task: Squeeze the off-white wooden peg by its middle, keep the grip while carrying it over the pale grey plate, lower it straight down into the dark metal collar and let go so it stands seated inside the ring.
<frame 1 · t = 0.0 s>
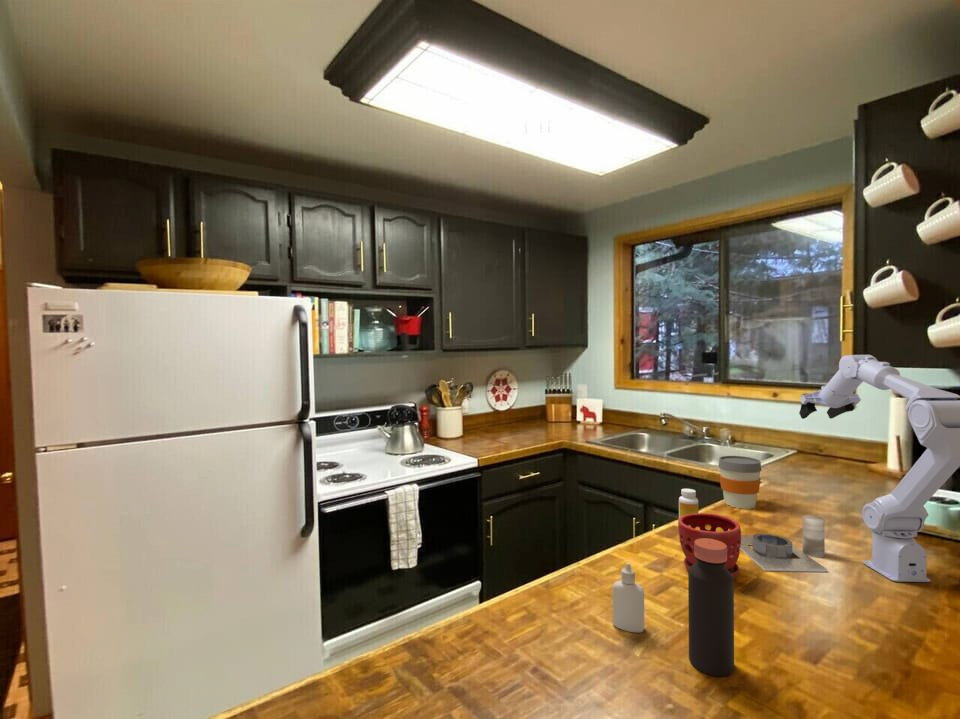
hand: (815, 415, 136), 32 cm above the worktop, tool tilted 50°, fingers open, 7 cm apart
peg: (813, 553, 119), on the worktop
reusable coffee cup: (739, 505, 157), on the worktop
supplement bottle: (688, 523, 142), on the worktop
dark water bottle: (711, 664, 78), on the worktop
plant pot: (709, 572, 110), on the worktop
eye dropper bottle: (628, 627, 89), on the worktop
collar stand: (772, 553, 120), on the worktop
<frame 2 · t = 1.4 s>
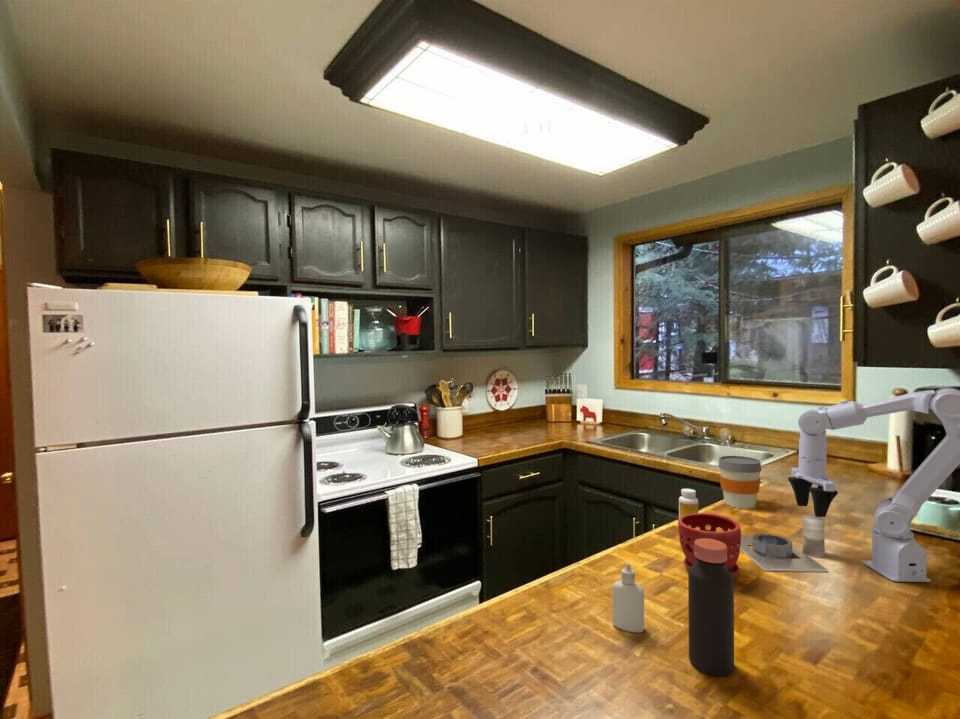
hand: (810, 511, 119), 11 cm above the worktop, tool pointing down, fingers open, 7 cm apart
nothing on the worktop moved.
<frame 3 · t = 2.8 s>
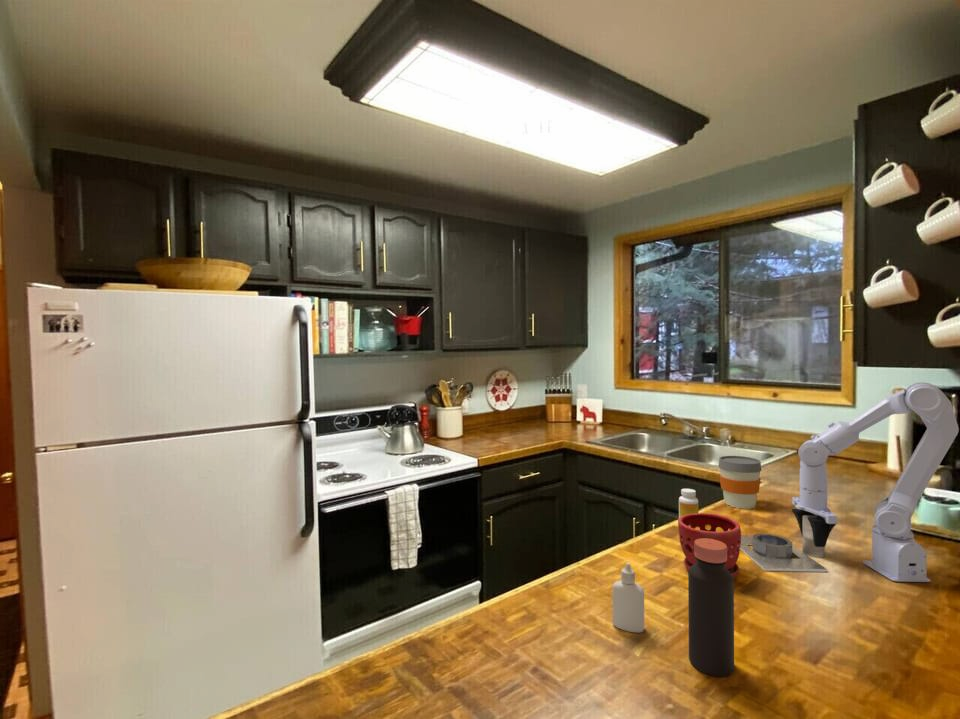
hand: (813, 542, 119), 3 cm above the worktop, tool pointing down, fingers closed on peg, 4 cm apart
peg: (813, 553, 119), on the worktop, touching gripper
everything else where it was.
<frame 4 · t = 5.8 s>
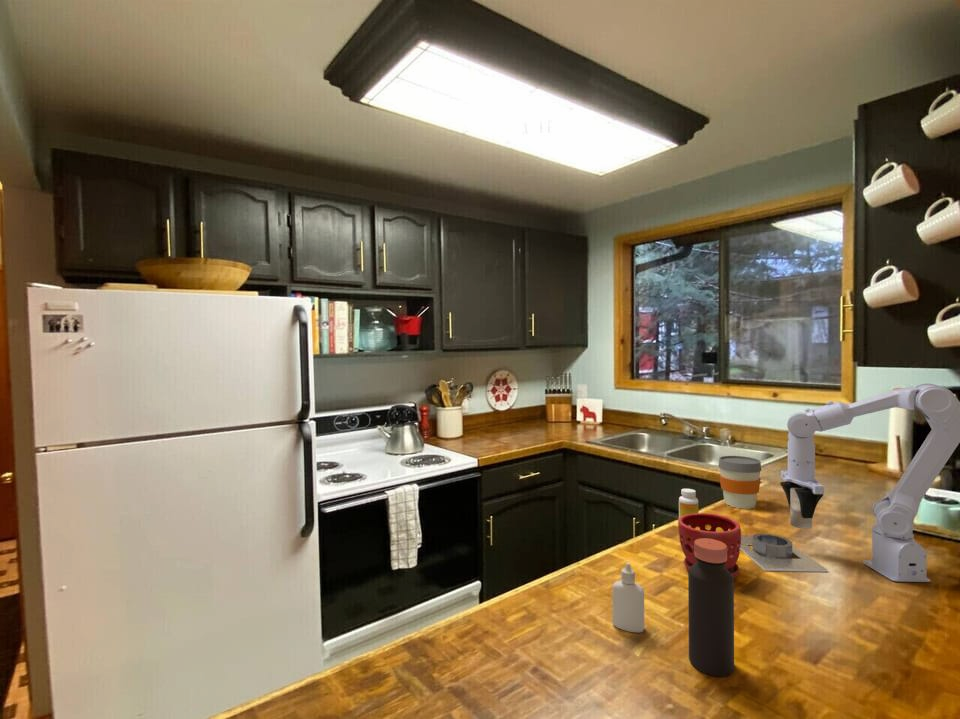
hand: (800, 514, 119), 10 cm above the worktop, tool pointing down, fingers closed on peg, 4 cm apart
peg: (801, 525, 119), point 7 cm above the worktop, touching gripper
everything else where it was.
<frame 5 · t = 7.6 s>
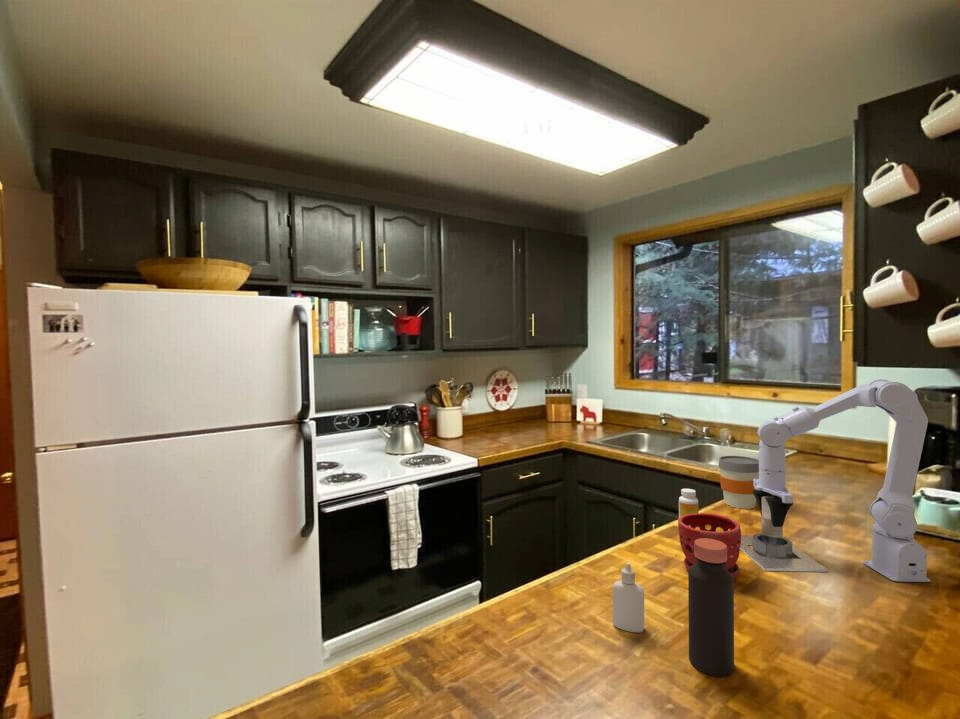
hand: (772, 522, 120), 8 cm above the worktop, tool pointing down, fingers closed on peg, 4 cm apart
peg: (772, 534, 120), point 5 cm above the worktop, touching gripper
everything else where it was.
when the fingers open (4 cm above the worktop, at t = 8.9 s): peg drops 1 cm, resting in collar stand.
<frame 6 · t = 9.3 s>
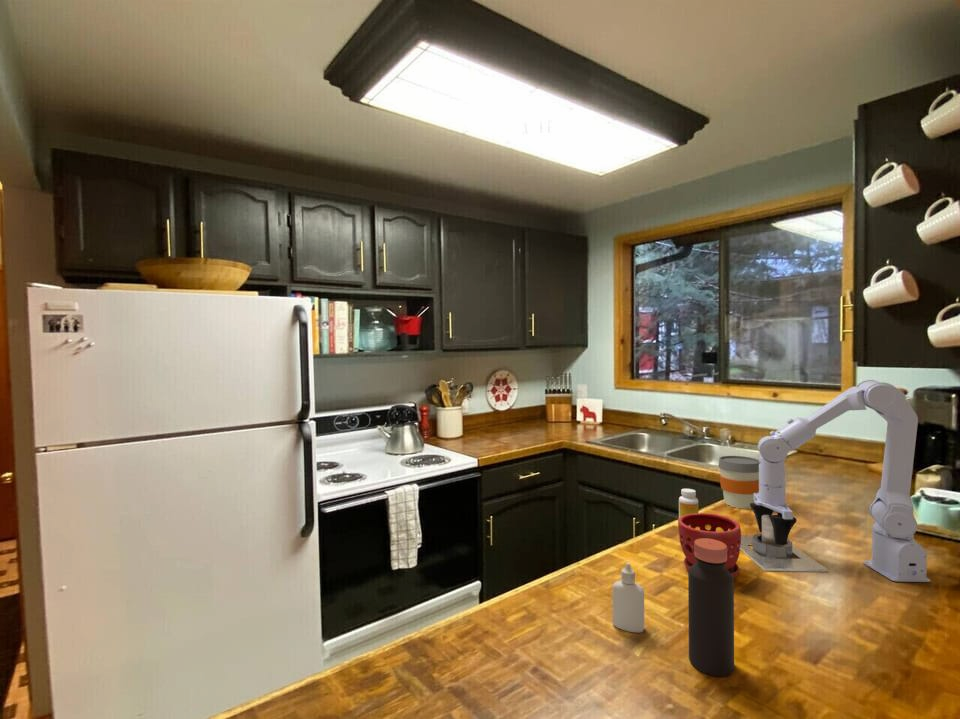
hand: (772, 537, 120), 4 cm above the worktop, tool pointing down, fingers open, 7 cm apart
peg: (772, 553, 120), resting in collar stand
everything else where it was.
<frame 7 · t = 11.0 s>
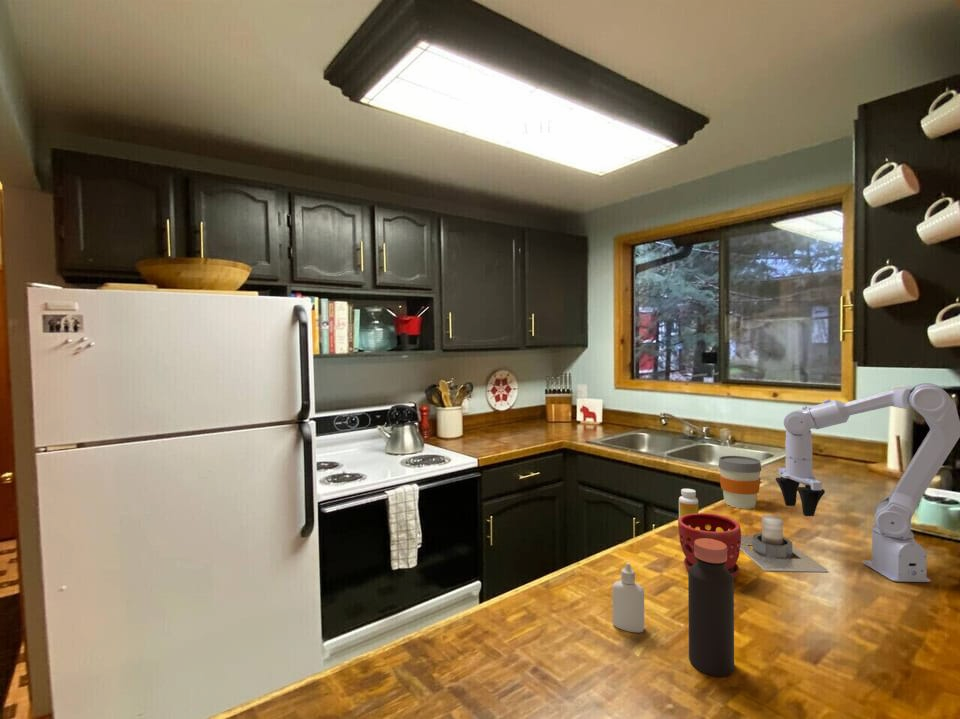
hand: (799, 510, 121), 10 cm above the worktop, tool pointing down, fingers open, 7 cm apart
nothing on the worktop moved.
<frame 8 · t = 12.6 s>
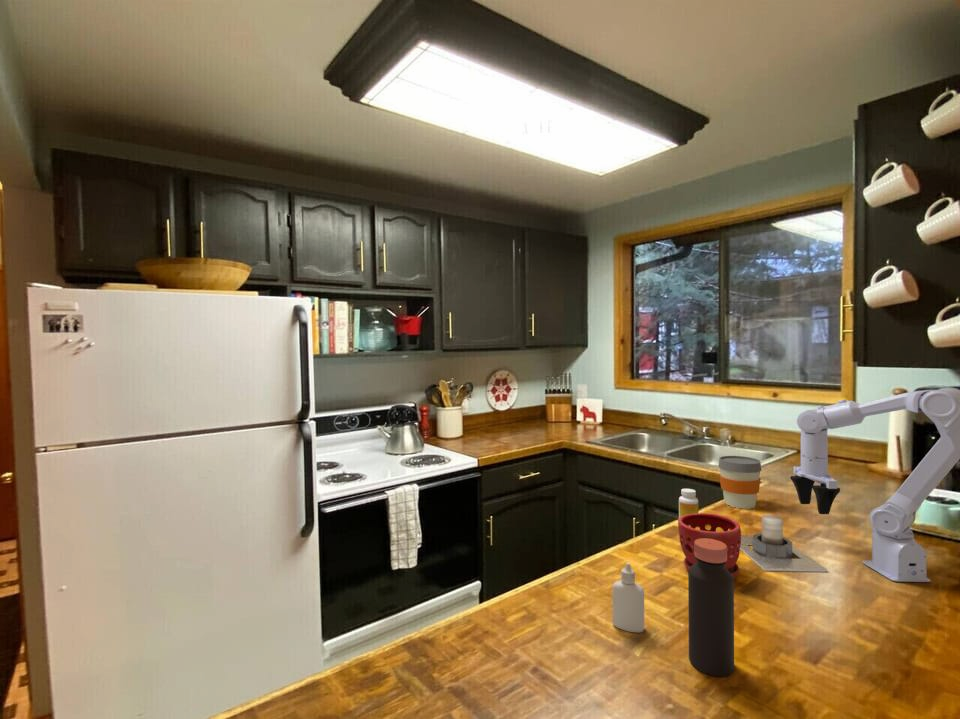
hand: (814, 508, 122), 10 cm above the worktop, tool pointing down, fingers open, 7 cm apart
nothing on the worktop moved.
at the end: peg 0.0 cm off-centre on the collar stand, point 0.0 cm above the collar stand's base; peg tilted 0°; the gripper is holding nothing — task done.
